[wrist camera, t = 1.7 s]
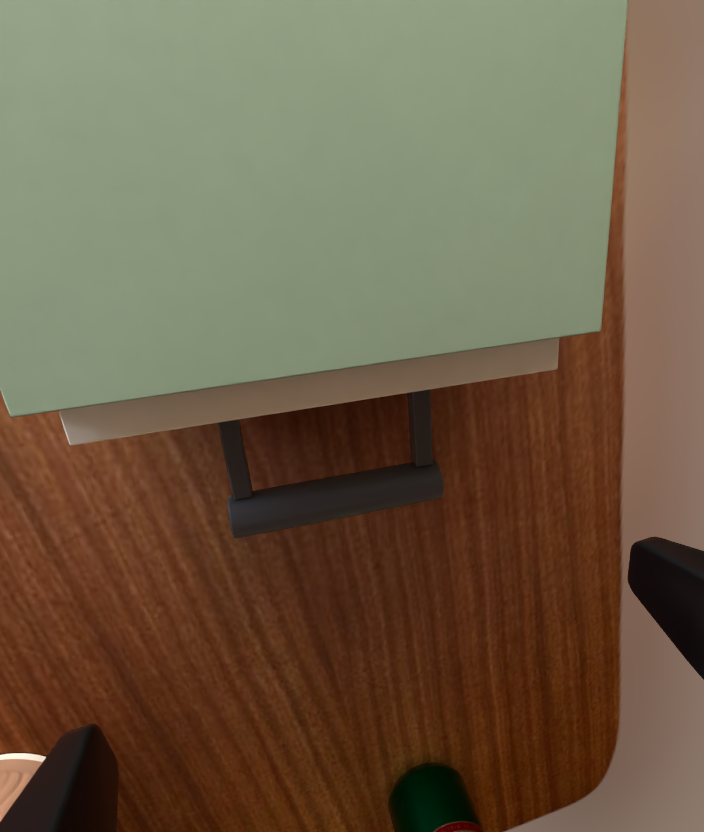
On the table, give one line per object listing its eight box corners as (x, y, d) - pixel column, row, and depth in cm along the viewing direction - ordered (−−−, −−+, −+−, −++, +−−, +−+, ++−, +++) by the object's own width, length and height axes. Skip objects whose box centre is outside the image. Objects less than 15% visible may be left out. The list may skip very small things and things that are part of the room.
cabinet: (465, 300, 21) (601, 332, 13) (112, 345, 19) (9, 418, 11) (459, -151, 16) (676, -559, 8) (-27, -164, 14) (-422, -757, 6)
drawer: (464, 429, 22) (551, 502, 16) (158, 482, 20) (116, 590, 14) (455, -76, 16) (594, -292, 10) (10, -76, 14) (-194, -354, 7)
